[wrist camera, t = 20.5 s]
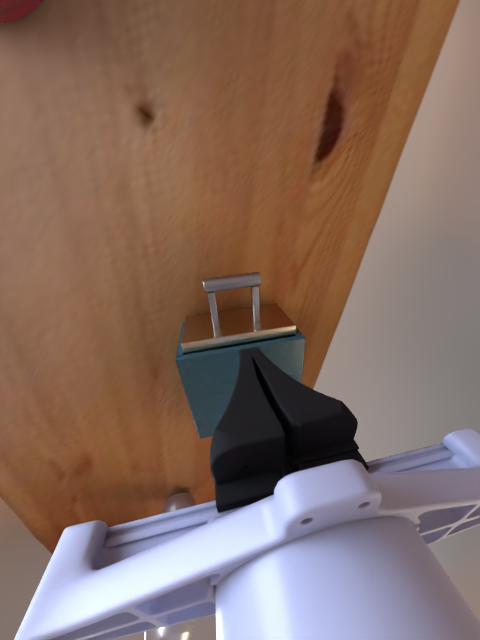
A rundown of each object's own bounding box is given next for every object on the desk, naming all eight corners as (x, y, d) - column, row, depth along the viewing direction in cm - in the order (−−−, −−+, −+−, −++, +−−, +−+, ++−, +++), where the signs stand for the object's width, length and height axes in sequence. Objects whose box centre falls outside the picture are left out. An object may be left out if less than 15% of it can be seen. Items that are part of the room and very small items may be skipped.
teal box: (183, 321, 23) (175, 360, 16) (278, 307, 24) (305, 337, 18) (200, 389, 28) (199, 438, 21) (278, 374, 29) (298, 417, 23)
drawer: (175, 273, 19) (165, 291, 14) (276, 261, 20) (299, 273, 15) (202, 383, 26) (201, 420, 21) (276, 369, 27) (291, 401, 22)
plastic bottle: (157, 496, 38) (116, 729, 21) (188, 483, 38) (174, 708, 20) (173, 507, 41) (151, 718, 24) (202, 495, 41) (201, 700, 24)
